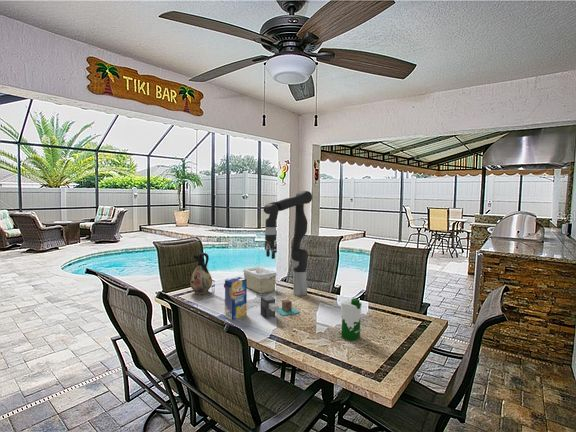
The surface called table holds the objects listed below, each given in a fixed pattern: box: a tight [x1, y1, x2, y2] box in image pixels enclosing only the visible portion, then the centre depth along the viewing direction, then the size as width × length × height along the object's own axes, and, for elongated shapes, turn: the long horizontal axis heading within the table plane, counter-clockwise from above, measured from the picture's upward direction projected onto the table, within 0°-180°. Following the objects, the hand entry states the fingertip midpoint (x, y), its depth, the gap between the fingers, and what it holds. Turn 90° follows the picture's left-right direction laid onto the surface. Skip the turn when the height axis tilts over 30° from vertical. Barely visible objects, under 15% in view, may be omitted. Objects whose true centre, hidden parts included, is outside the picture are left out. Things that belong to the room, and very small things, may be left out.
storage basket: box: [242, 266, 277, 294], centre depth 251 cm, size 24×16×15 cm
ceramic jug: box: [189, 252, 213, 295], centre depth 238 cm, size 17×15×30 cm
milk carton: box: [340, 298, 363, 342], centre depth 167 cm, size 9×9×20 cm
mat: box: [275, 306, 301, 317], centre depth 204 cm, size 12×12×1 cm
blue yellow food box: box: [224, 276, 248, 321], centre depth 194 cm, size 7×11×22 cm, turn 138°
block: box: [281, 299, 293, 312], centre depth 204 cm, size 4×4×6 cm
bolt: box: [267, 302, 280, 312], centre depth 193 cm, size 4×16×2 cm, turn 27°
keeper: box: [260, 295, 276, 319], centre depth 196 cm, size 7×7×11 cm
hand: (270, 257), depth 220 cm, fingers open, 8 cm apart
